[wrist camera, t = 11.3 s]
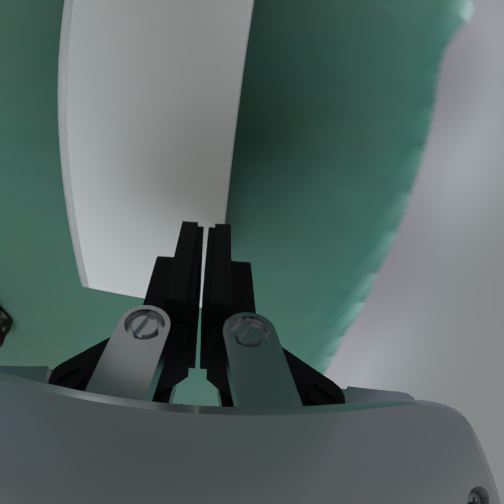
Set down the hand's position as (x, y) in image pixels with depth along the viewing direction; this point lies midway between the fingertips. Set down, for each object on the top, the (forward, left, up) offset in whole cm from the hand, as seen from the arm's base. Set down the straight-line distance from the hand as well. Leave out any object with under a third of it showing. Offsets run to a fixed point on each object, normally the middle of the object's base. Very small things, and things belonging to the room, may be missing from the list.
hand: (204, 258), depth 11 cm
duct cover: (-6, -4, -5) cm, 9 cm away
